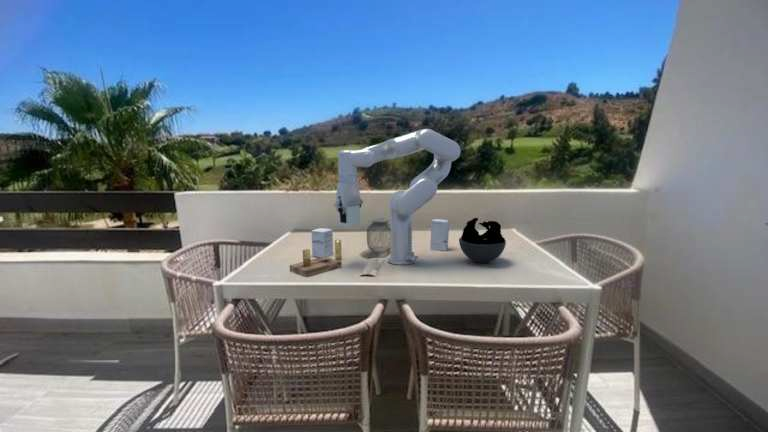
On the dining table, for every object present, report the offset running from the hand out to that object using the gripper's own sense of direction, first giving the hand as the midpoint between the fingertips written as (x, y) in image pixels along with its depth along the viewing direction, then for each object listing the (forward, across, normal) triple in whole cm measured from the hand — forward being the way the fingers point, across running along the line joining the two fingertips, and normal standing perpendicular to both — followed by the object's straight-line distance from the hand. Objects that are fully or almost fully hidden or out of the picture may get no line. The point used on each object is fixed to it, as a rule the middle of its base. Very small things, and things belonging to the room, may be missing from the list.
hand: (349, 220), depth 167 cm
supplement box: (+19, 0, -21) cm, 28 cm away
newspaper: (+20, -3, +11) cm, 23 cm away
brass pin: (+19, -1, -10) cm, 22 cm away
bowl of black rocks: (+21, -41, +40) cm, 61 cm away
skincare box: (+20, -47, +13) cm, 53 cm away
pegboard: (+19, +15, -6) cm, 25 cm away
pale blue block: (+2, 0, 0) cm, 2 cm away
